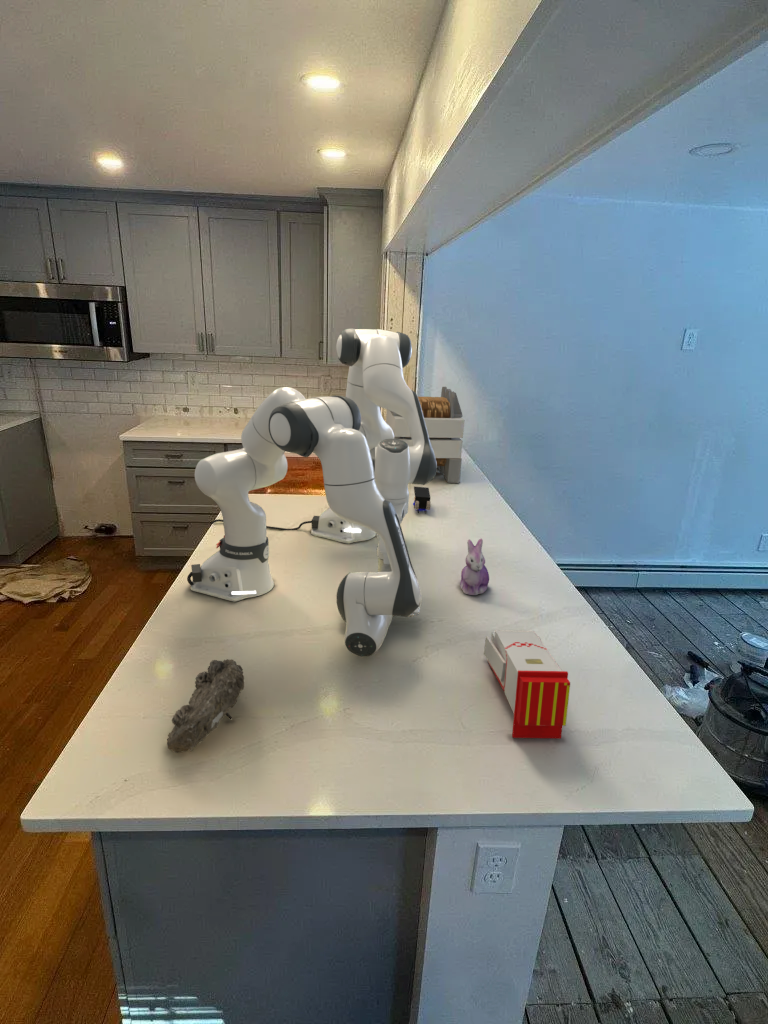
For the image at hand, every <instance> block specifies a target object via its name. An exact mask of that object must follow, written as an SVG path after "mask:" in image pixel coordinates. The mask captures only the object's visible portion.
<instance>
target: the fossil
mask: <svg viewBox="0 0 768 1024" xmlns="http://www.w3.org/2000/svg"><path fill="white" fill-rule="evenodd" d="M243 670H244V669H243V667H242V665H240V664H237V662H236V661H235V660H234V659H232V658H231V659H227V658H226V659H224V660H223V661H222V660H217V659H212V660H211V661H210V663H209V665H208V666H207V671H201V672H199V673H198V674H197V675H196V676H195V680H194V684H195V685H194V687H195V689H194V690H193V693H192V694H191V697H190V698H189V700H188V704H184V705H182V706H181V707H180V709H177V710H176V711H175V713H174V715H173V716H172V718H171V723H172V724H173V727H172V730H171V731H170V732H168V734H167V738H166V741H167V742H166V745H167V749H168V750H169V751H173V752H174V753H176V754H178V753H182V752H188V751H189V752H192V751H193V750H195V748H196V747H197V746H199V744H200V743H201V742H203V741H204V740H205V739H206V738H207V737H208V736H209V735H210V734H211V733H212V732H214V730H215V729H217V727H218V726H219V724H220V722H221V721H222V720H223V719H224V718H225V716H226V717H227V719H229V720H233V717H232V715H230V714H229V710H230V709H231V708H234V706H235V704H236V703H237V702H238V699H239V697H240V695H241V693H242V691H243V690H245V689H244V688H245V675H244V671H243Z"/></svg>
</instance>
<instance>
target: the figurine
mask: <svg viewBox="0 0 768 1024" xmlns="http://www.w3.org/2000/svg"><path fill="white" fill-rule="evenodd" d="M483 544H484V539H483V538H480V539H478V541H477V542H476V544H474V543H473V541H472V540H471V539H467V555H466V557H465V566H463V568H462V570H461V573H460V583H459V588H460V589H461V590H462V593H463V594H465V595H470V596H477V595H479V594H480V595H481V594H484V593H485V592H486V591H487V590H488V586H489V583H490V574H489V571H488V568H487V566H486V565H485V564H486V559H485V555H484V553H483V550H482V549H483Z"/></svg>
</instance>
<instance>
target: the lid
mask: <svg viewBox="0 0 768 1024" xmlns="http://www.w3.org/2000/svg"><path fill="white" fill-rule="evenodd" d="M376 547H377V548H376V556H377V558H380V559H383V558H384V557H383V553H380V552H379V546H378V545H377V546H376Z"/></svg>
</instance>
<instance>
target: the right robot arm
mask: <svg viewBox="0 0 768 1024" xmlns="http://www.w3.org/2000/svg"><path fill="white" fill-rule="evenodd" d="M335 350H336V354H337V355H336V356H337V359H338V361H339V362H340V364H343V365H345V366H348V372H347V379H346V389H345V397H347V398H350V399H351V400H353V401H354V402H355V403H356V405H357V406H358V408H359V410H360V414H361V426H360V429H359V431H360V432H361V433H363V435H364V436H365V437H366V440H367V443H368V446H369V449H370V453H371V457H372V462H373V467H374V474H375V481H376V485H377V488H378V490H379V492H380V494H381V495H382V497H383V498H384V499H385V500H387V501H389V502H391V503H392V505H393V507H394V509H395V511H396V513H397V516H398V519H399V522H400V525H401V524H402V523H403V520H404V518H405V517H406V515H408V513H409V501H410V491H409V484H412V485H421V486H425V485H427V484H428V483H430V482H431V481H432V480H433V479H434V478H435V477H436V475H437V470H438V468H437V462H436V458H435V454H434V451H433V449H432V446H431V443H430V440H429V436H428V432H427V428H426V424H425V420H424V416H423V413H422V409H421V405H420V402H419V399H418V397H419V396H418V394H417V393H416V391H414V390H413V389H411V387H409V386H408V384H407V382H406V380H405V378H404V370H403V368H405V367H406V366H408V365H409V363H410V361H411V357H412V353H413V347H412V340H411V339H410V337H409V335H408V334H406V333H403V332H400V331H396V332H395V331H392V330H391V331H390V330H386V329H380V328H375V329H374V328H373V329H372V328H359V329H358V328H357V329H355V328H354V327H353V328H352V327H350V328H345V329H343V330H342V331H340V332H339V335H338V338H337V341H336V345H335ZM417 396H418V397H417ZM381 408H382V409H385V410H386V411H387V410H390V411H393V412H395V413H397V414H399V415H400V416H402V417H403V418H404V419H405V420H406V421H407V423H408V426H409V430H410V434H411V439H412V443H413V446H411V447H409V446H408V444H407V443H406V442H404V441H402V440H399V439H394V433H393V430H392V428H391V427H390V426H389V425H388V424H387V423H386V420H385V419H384V417H383V415H382V411H381ZM217 522H218V523H219V522H221V523H223V519H214V520H212V521H211V522H210V525H213V524H214V523H217ZM306 524H311V530H310V533H311V536H315V537H319V538H323V539H326V540H330V541H336V542H339V543H343V544H352V543H357V542H365V541H368V540H372V539H373V538H375V537H376V535H377V544H378V545H377V546H379V552H380V553H383V557H384V558H383V563H384V564H390V562H389V558H388V555H387V551H386V548H385V544H384V542H383V540H382V538H381V537H380V536H379V535H378V534H377V533H376V532H374V531H372V530H370V529H368V528H366V527H363V526H360V525H357V524H354V523H351V522H348V521H346V520H344V519H342V518H340V517H339V516H337V515H336V514H335V513H334V512H333V511H332V510H331V509H330V507H329V506H328V508H326V509H325V510H323V512H321V514H320V515H313V517H312V519H311V520H306V521H302V522H301V523H300V524H299V525H298V526H297V527H294V528H286V527H285V528H284V527H278V526H270V525H266V529H270V530H278V531H297V530H300V529H301V528H302V526H303V525H306Z"/></svg>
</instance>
